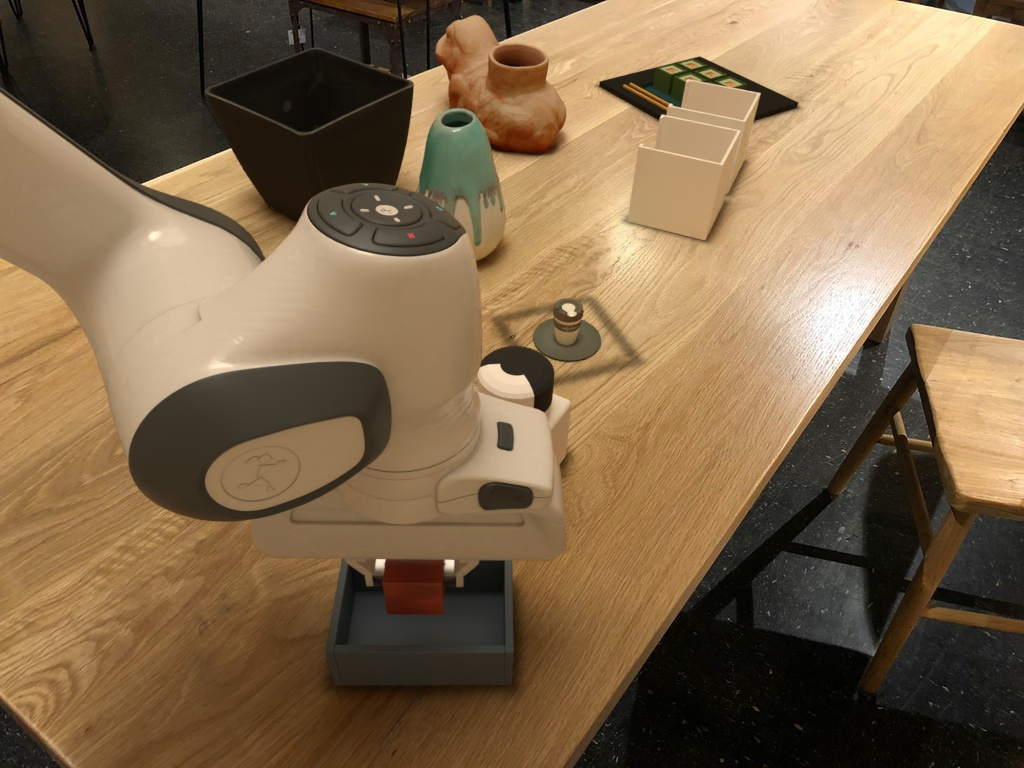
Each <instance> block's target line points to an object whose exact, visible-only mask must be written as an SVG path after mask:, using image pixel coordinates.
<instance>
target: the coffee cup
mask: <svg viewBox="0 0 1024 768" xmlns="http://www.w3.org/2000/svg"><path fill="white" fill-rule="evenodd" d="M584 313H585V311H584V306H583V304H582V303H581V302H580V301H579V300H577V299H574V298H570V297H567V298H561V299H558V300H557V301H555V303H554V305H553V309H552V315H553V317H551V318H549V319H546V320H544V321H542V322H541V323H540V324H538V325H537V326H536V328H535V329H534V331H533V334H532V338H533V339H532V340H533V343H534V345H535V346H536V348H537V349H538V352H540V353H541V354H543V355H544V356H545V357H547V358H551V359H552V360H557V361H563V362H575V361H581V360H585V359H588V358H590V357H592V356H593V355H594V354H596V353H597V352H598V350H599V349H600V347H601V343H602V337H601V334H600V332H599V331H598V329H597V328H596V327H595V326H594V325H593V324H591V323H589V322H588V321H586V320H583V316H584Z"/></svg>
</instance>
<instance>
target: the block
mask: <svg viewBox="0 0 1024 768" xmlns="http://www.w3.org/2000/svg"><path fill="white" fill-rule="evenodd" d="M443 569H444V560H414V559H386V560H385V568H384V576H383V590H384V597H385V604H386V612H387V614H402V615H443V612H444V594H445V587H444V585H443V583H444V581H443Z"/></svg>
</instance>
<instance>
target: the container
mask: <svg viewBox="0 0 1024 768" xmlns="http://www.w3.org/2000/svg"><path fill="white" fill-rule="evenodd" d="M476 379H477V382H476V383H477V391H478V392H480V393H483V394H486V395H489V396H492V397H495V398H498V399H501V400H505V401H508V402H512V403H516V404H520V405H524V406H528V407H531V408H535V409H538V410H540V411H542V412H544V413H545V414H546V415H547V418H548V422H549V425H550V430H551V435H552V441H553V449H554V454H555V456H556V458H557V460H558V462H559V465H560V466H561V463H562V462H563V461H564V460H565V458H566V456H567V449H568V439H569V430H570V423H571V422H570V420H571V412H572V401H571V400H570V399H568V398H565V397H563V396H560V395H558V394H556V393H554V386H555V385H554V384H555V367H554V366H553V363H552V362H551V361H550V360H549V359H548V357H547V356H546V355H544V354H543V353H542V352H540V351H539V350H537V349H533V348H531V347H527V346H522V345H508V346H502V347H500V348H497V349H494V350H492V351H491V352H489V353H488V354H487V355H485V356H484V357H482V360H481V365H480V369H479V372H478V374H477V377H476Z"/></svg>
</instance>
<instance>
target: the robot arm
mask: <svg viewBox="0 0 1024 768" xmlns="http://www.w3.org/2000/svg"><path fill="white" fill-rule="evenodd" d="M296 222H297V221H296ZM0 259H1V260H3V261H5V262H7V263H9V264H11V265H13V266H14V267H17V268H19V269H21V270H22V271H25V272H27V273H28V274H30V275H32V276H34V277H36V278H38V279H40V280H41V281H42V282H43V283H45V284H46V285H48V286H49V287H50V288H51V289H52V290H53V291H54V292H55V293H56V294H57V295H58V296H59V297H60V298H61V300H62V301H63V302H64V303H65V305H66V306H67V307H68V308H69V310H70V312H71V313H72V314H73V316H74V318H75V319H76V320H77V322H78V324H79V326H80V328H81V329H82V332H83V333H84V335H85V336H86V338H87V340H88V343H89V345H90V347H91V350H92V352H93V355H94V359H95V361H96V365H97V368H98V370H99V374H100V377H101V380H102V383H103V388H104V391H105V393H106V396H107V402H108V407H109V410H110V413H111V416H112V420H113V423H114V426H115V429H116V433H117V436H118V439H119V442H120V444H121V447H122V450H123V453H124V456H125V459H126V461H127V465H128V469H129V472H130V476H131V478H132V481H133V482H134V484H135V485H136V488H137V489H138V490H139V491H140V493H142V494H143V496H144V497H146V498H147V499H148V500H149V501H150V502H152V503H153V504H155V505H157V506H159V507H161V508H162V509H164V510H167V511H169V512H171V513H174V514H176V515H179V516H183V517H186V518H190V519H193V520H194V519H195V520H200V521H207V522H216V523H233V522H243V521H249V528H250V535H251V539H252V543H253V547H254V548H255V549H256V550H257V551H258V552H260V553H261V554H263V555H265V557H268V558H271V559H318V560H320V559H321V560H322V559H325V560H327V559H328V560H329V559H330V560H332V559H333V560H342V559H345V562H346V563H347V564H349V565H350V566H352V567H353V568H354V569H356V570H357V571H359V572H360V573H361V574H363V575H365V580H366V586H383V576H384V568H385V560H386V559H414V560H444V569H443V581H444V583H443V585H444V587H463V583H464V576H465V575H466V574H467V573H469V572H470V571H471V570H472V569H473V568H475V567H476V566H477V565H478V564H479V560H512V561H519V562H523V561H524V562H526V561H527V562H529V561H530V562H531V561H532V562H549V561H550V562H551V561H553V560H555V559H557V558H558V557H560V556H561V555H563V554H564V553H565V552H566V547H567V525H566V523H567V522H566V508H565V498H564V497H565V496H564V489H563V479H562V478H563V477H562V471H561V464H560V465H559V462H558V460H557V458H556V456H555V454H554V449H553V441H552V435H551V430H550V425H549V422H548V418H547V415H546V414H545V413H544V412H542V411H540V410H538V409H535V408H531V407H528V406H524V405H520V404H516V403H512V402H508V401H505V400H501V399H498V398H495V397H492V396H489V395H486V394H483V393H480V392H478V387H477V386H476V379H477V374H478V372H479V369H480V365H481V361H482V359H483V311H482V310H483V309H482V296H481V295H482V293H481V285H480V277H479V270H478V265H477V261H476V258H475V254H474V250H473V247H472V243H471V241H470V238H469V236H468V234H467V232H466V230H465V229H464V227H463V226H462V225H461V224H460V223H459V222H458V221H457V220H456V219H455V218H454V217H453V216H452V215H451V214H450V213H449V212H448V211H447V210H445V209H444V208H443V207H442V206H440V205H439V204H438V203H436V202H435V201H433V200H431V199H430V198H428V197H426V196H424V195H423V194H420V193H416V191H414V190H409V189H406V188H403V187H400V186H397V185H396V186H393V185H387V184H378V183H355V184H348V185H343V186H338V187H334V188H330V189H328V190H325V191H323V192H321V193H319V194H317V195H316V196H314V197H313V198H312V199H311V200H310V201H309V202H308V204H307V205H306V207H305V209H304V211H303V212H302V215H301V217H300V219H299V221H298V222H297V223H296V224H295V226H294V227H293V229H292V230H291V231H290V233H289V234H288V235H287V236H286V237H285V238H284V239H283V240H282V241H281V242H280V244H279V245H277V247H276V248H275V249H273V250H272V252H270V254H269V255H268V256H267V257H265V255H264V253H263V251H262V249H261V247H260V245H259V244H258V242H257V241H256V239H255V238H254V237H253V235H251V233H250V232H249V231H248V230H247V229H246V228H245V227H244V226H242V225H241V224H240V223H238V222H237V221H236V220H234V218H232V217H231V216H228V215H227V214H224V213H223V212H222V211H218V210H216V209H215V208H212V207H210V206H207V205H204V204H201V203H198V202H195V201H192V200H189V199H187V198H182V197H179V196H176V195H173V194H169V193H166V192H163V191H160V190H157V189H154V188H152V187H150V186H149V187H148V186H146V185H144V184H141V183H140V182H137V181H136V180H133V179H131V178H130V177H127V176H126V175H124V174H122V173H120V172H119V171H117V170H116V169H114V168H113V167H112V166H110V165H108V164H107V163H105V162H104V161H102V159H100V158H98V157H97V156H96V155H94V154H93V153H91V152H90V151H88V150H87V149H86V148H85V147H83V146H82V145H81V144H79V143H78V142H76V141H75V140H74V139H72V138H71V137H69V136H68V135H67V134H65V133H64V132H63V131H61V130H60V129H59V128H58V127H56V126H55V125H53V124H52V123H50V122H49V121H48V120H46V119H45V118H44V117H42V116H41V115H39V114H38V113H37V112H36V111H34V110H33V109H31V108H30V107H29V106H28V105H26V104H24V103H23V102H22V101H20V100H19V99H18V98H16V97H15V96H14V95H12V94H11V93H9V91H7V90H5V89H4V88H2V87H1V86H0Z"/></svg>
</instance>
